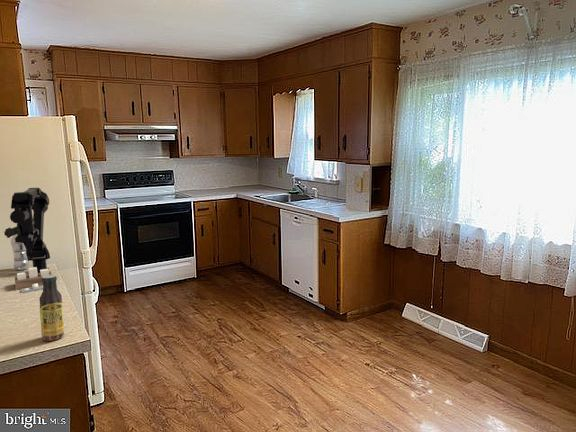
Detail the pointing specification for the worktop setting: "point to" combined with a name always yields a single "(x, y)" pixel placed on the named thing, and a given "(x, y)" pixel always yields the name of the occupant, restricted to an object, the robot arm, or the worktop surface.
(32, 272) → the button middle
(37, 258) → the robot arm
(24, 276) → the button
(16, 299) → the worktop surface
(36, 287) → the card
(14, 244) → the plastic bottle
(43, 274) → the button
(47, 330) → the sauce bottle
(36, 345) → the worktop surface
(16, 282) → the board
